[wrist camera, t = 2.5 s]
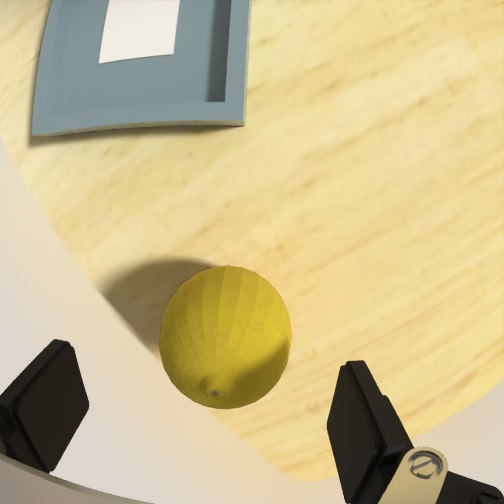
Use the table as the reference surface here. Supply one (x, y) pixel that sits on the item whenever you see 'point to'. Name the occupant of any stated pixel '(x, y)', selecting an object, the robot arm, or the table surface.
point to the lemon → (225, 337)
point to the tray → (141, 65)
